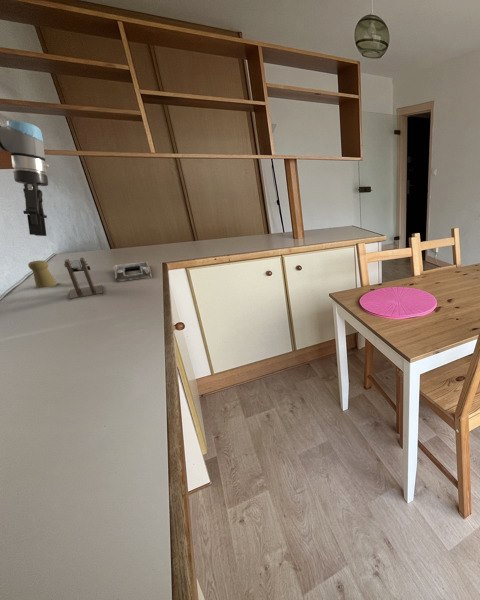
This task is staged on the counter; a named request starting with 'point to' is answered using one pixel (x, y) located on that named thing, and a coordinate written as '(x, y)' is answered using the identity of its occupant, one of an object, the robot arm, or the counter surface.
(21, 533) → the counter surface
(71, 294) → the bracket
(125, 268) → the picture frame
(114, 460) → the counter surface
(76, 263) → the tap lever
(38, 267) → the cork
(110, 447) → the counter surface
